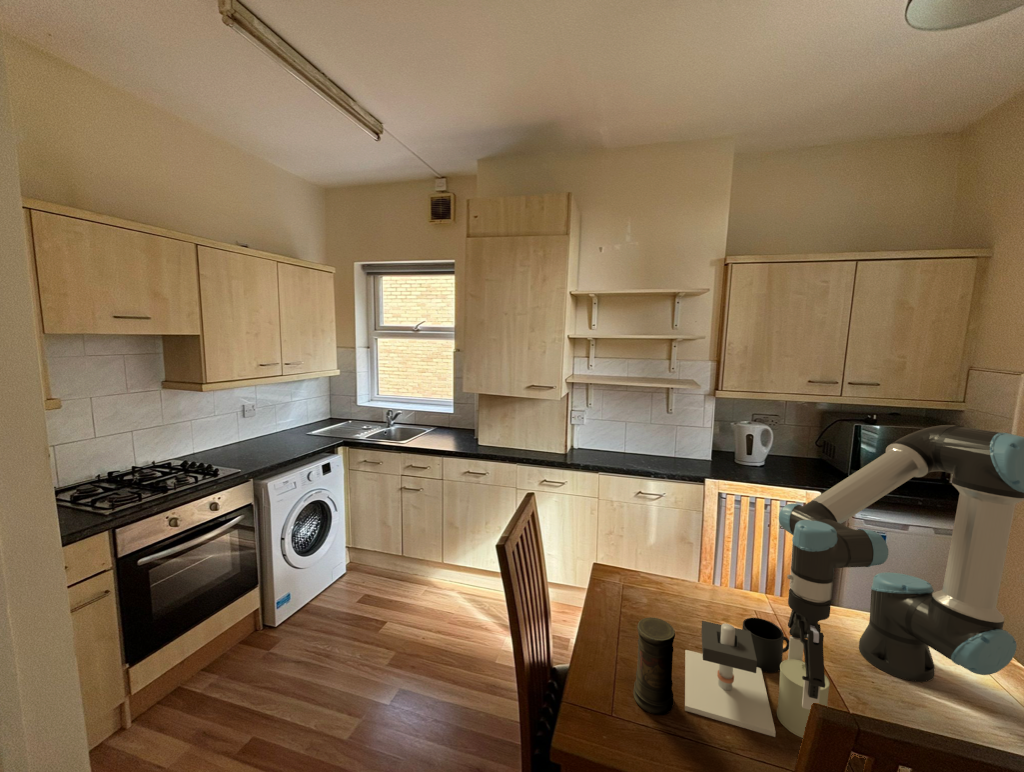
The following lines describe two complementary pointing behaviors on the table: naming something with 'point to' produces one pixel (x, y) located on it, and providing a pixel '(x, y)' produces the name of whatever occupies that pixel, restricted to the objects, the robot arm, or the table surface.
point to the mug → (766, 643)
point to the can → (795, 696)
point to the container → (654, 666)
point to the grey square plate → (728, 648)
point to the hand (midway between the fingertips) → (801, 685)
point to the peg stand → (727, 691)
